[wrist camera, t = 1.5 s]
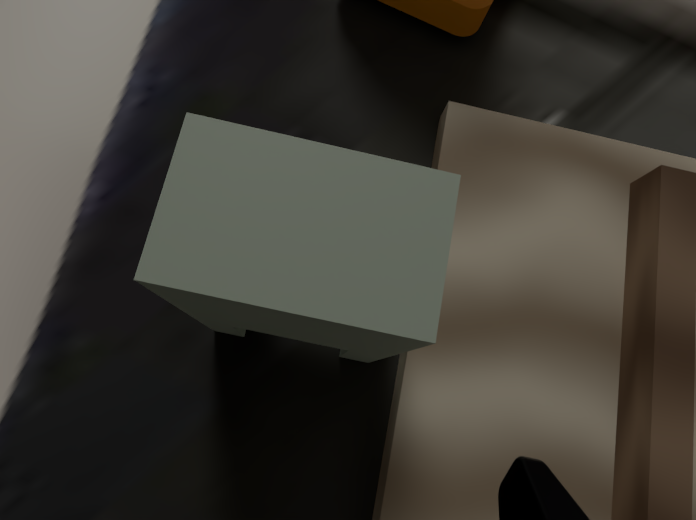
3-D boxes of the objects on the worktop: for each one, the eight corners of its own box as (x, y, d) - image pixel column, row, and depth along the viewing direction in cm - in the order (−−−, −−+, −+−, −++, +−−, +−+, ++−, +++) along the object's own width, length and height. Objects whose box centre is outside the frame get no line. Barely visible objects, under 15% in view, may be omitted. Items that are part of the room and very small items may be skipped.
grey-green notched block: (368, 362, 21) (435, 343, 11) (214, 330, 21) (133, 279, 10) (384, 271, 22) (461, 175, 12) (238, 239, 22) (187, 112, 11)
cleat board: (829, 668, 20) (939, 727, 16) (361, 581, 19) (375, 624, 16) (809, 204, 25) (890, 175, 21) (439, 117, 24) (463, 74, 21)
